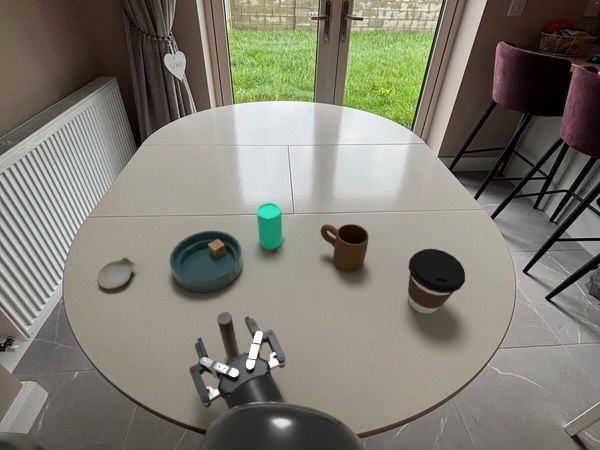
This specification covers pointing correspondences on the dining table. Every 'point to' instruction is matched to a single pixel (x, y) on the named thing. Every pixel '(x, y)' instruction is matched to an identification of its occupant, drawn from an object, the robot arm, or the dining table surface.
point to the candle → (269, 225)
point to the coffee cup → (433, 279)
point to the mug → (347, 245)
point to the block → (217, 248)
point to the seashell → (115, 273)
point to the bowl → (205, 262)
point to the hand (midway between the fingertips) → (223, 329)
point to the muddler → (228, 335)
